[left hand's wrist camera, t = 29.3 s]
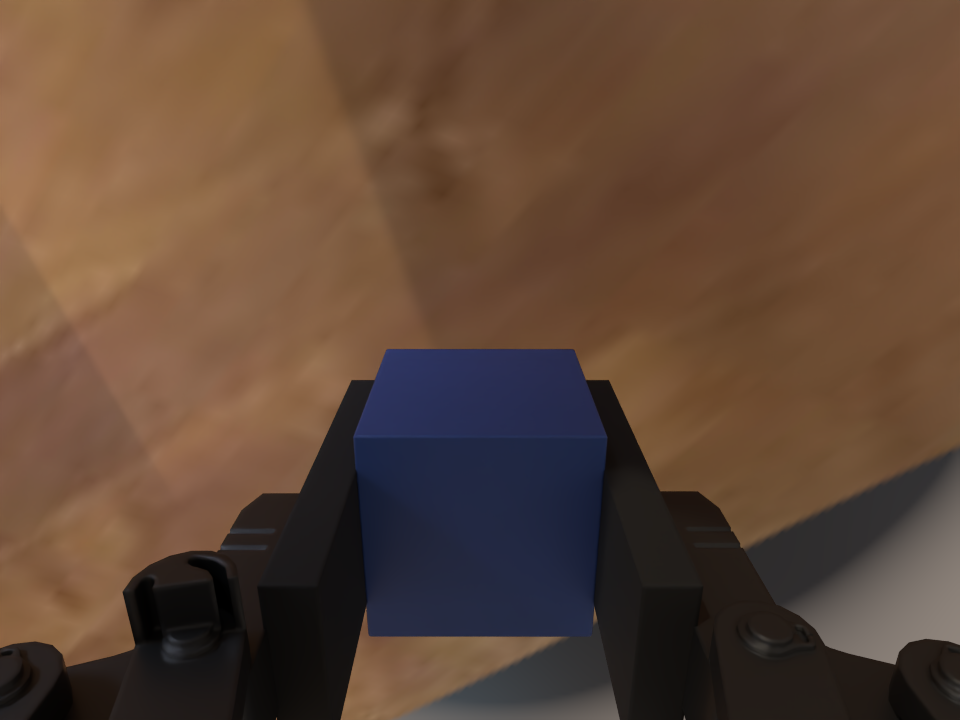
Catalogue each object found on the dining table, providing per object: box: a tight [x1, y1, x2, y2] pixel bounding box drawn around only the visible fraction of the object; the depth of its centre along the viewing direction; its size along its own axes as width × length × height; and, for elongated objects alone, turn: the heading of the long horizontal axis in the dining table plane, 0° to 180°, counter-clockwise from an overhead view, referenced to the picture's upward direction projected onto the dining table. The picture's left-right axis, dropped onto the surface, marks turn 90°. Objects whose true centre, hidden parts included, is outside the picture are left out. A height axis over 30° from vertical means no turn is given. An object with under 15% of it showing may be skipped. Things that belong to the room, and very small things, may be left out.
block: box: [353, 349, 608, 637], centre depth 13 cm, size 4×4×4 cm
